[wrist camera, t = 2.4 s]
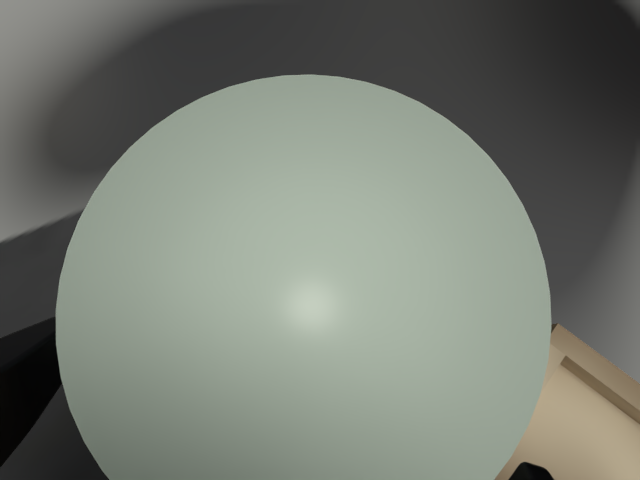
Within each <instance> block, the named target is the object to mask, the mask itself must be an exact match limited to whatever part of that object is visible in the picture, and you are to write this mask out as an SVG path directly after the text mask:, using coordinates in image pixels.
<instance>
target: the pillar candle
mask: <svg viewBox="0 0 640 480" xmlns="http://www.w3.org/2000/svg"><path fill="white" fill-rule="evenodd" d="M550 337H551V305H550V292H549V285H548V280H547V274H546V268H545V262H544V259H543V256H542V252H541V249H540V246H539V243H538V239H537V236H536V233H535V231H534V228H533V226H532V224H531V222H530V220H529V218H528V215H527V213H526V211H525V209H524V206H523V205H522V203H521V201H520V199H519V198H518V196H517V195H516V193H515V191H514V190H513V188H512V186H511V185H510V183H509V182H508V180H507V178H506V177H505V176H504V175H503V174H502V172H501V171H500V170H499V168H498V167H497V166H496V164H495V163H494V162H493V161H492V159H491V158H490V157H489V156H488V155H487V154H486V153H485V152H484V151H483V150H482V149H481V148H480V147H479V146H478V145H477V144H476V143H475V142H474V141H473V140H472V139H471V138H470V137H469V136H468V135H467V134H465V133H464V132H463V131H462V130H460V129H459V128H458V127H457V126H455V125H454V124H453V123H451V122H450V121H449V120H448V119H446V118H445V117H443V116H442V115H440V114H438V113H437V112H435V111H433V110H432V109H430V108H428V107H427V106H425V105H423V104H422V103H420V102H418V101H416V100H413V99H411V98H409V97H407V96H404V95H402V94H400V93H398V92H396V91H393V90H390V89H387V88H384V87H381V86H377V85H374V84H371V83H368V82H363V81H358V80H353V79H348V78H343V77H335V76H323V75H286V76H278V77H271V78H264V79H257V80H253V81H249V82H245V83H242V84H238V85H234V86H230V87H228V88H225V89H222V90H220V91H217V92H214V93H212V94H209V95H207V96H204V97H202V98H200V99H198V100H196V101H194V102H192V103H191V104H189V105H187V106H185V107H183V108H181V109H179V110H177V111H176V112H175V113H173V114H171V115H170V116H168V117H167V118H166V119H164V120H163V121H161V122H160V123H158V124H157V125H155V126H154V127H153V128H151V129H150V130H149V131H148V132H147V133H146V134H145V135H143V136H142V137H141V138H140V139H139V140H138V141H137V142H135V143H134V144H133V145H132V146H131V147H130V148H129V149H128V150H127V151H126V152H125V153H124V155H123V156H122V157H121V158H120V159H119V160H118V161H117V163H115V164H114V166H113V167H112V168H111V169H110V170H109V172H108V173H107V175H106V176H105V178H104V179H103V180H102V182H101V183H100V185H99V186H98V187H97V189H96V190H95V192H94V193H93V195H92V197H91V199H90V200H89V202H88V204H87V206H86V208H85V210H84V211H83V213H82V215H81V217H80V219H79V221H78V223H77V226H76V229H75V231H74V234H73V236H72V239H71V241H70V244H69V246H68V249H67V253H66V257H65V261H64V264H63V268H62V272H61V276H60V281H59V289H58V297H57V305H56V348H57V355H58V362H59V369H60V376H61V380H62V384H63V387H64V391H65V394H66V398H67V401H68V405H69V408H70V411H71V414H72V416H73V418H74V420H75V423H76V425H77V427H78V429H79V432H80V434H81V436H82V438H83V441H84V443H85V444H86V446H87V447H88V449H89V451H90V452H91V454H92V455H93V457H94V459H95V460H96V462H97V463H98V465H99V467H100V468H101V470H102V471H103V473H104V474H105V475H106V476H107V477H108V479H109V480H494V479H495V478H496V476H497V475H498V474H499V472H500V471H501V470H502V468H503V467H504V466H505V464H506V463H507V462H508V460H509V459H510V458H511V456H512V454H513V453H514V451H515V449H516V447H517V445H518V444H519V442H520V440H521V438H522V436H523V435H524V433H525V431H526V429H527V427H528V425H529V423H530V420H531V417H532V415H533V412H534V410H535V407H536V404H537V402H538V399H539V396H540V394H541V390H542V385H543V381H544V377H545V372H546V368H547V364H548V358H549V348H550Z"/></svg>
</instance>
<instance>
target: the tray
mask: <svg viewBox="0 0 640 480" xmlns="http://www.w3.org/2000/svg"><path fill="white" fill-rule="evenodd" d="M522 462H529V463H532V464H535V465H538V466H541V467H544V468H545V469H547V470H548V471H549V473H550V474H551V475H552V477H553V478H554V480H640V384H639V383H638V382H637V381H635V380H633V379H632V378H631V377H630V376H628V375H627V374H626V373H624V372H623V371H622V370H620V369H619V368H618V367H616V366H615V365H613V364H612V363H611V362H609V361H608V360H607V359H605V358H604V357H603V356H601V355H600V354H599V353H597V352H596V351H594V350H593V349H592V348H590V347H589V346H588V345H586V344H585V343H584V342H582V341H581V340H580V339H578V338H577V337H576V336H574V335H573V334H572V333H570V332H569V331H568V330H566V329H565V328H563V327H562V326H561V325H559V324H558V323H557V324H552V325H551V337H550V348H549V358H548V364H547V368H546V372H545V377H544V381H543V385H542V390H541V394H540V396H539V399H538V402H537V404H536V407H535V410H534V412H533V415H532V417H531V420H530V423H529V425H528V427H527V429H526V431H525V433H524V435H523V436H522V438H521V440H520V442H519V444H518V445H517V447H516V449H515V451H514V453H513V454H512V456H511V458H510V459H509V460H508V462H507V463H506V464H505V466H504V467H503V468H502V470H501V471H500V472H499V474H498V475H497V476H496V478H495V479H494V480H508V479H509V478H510V477H511V475H512V474H513V472H514V471H515V470H516V468H517V467H518V465H519V464H520V463H522Z"/></svg>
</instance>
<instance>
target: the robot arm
mask: <svg viewBox="0 0 640 480" xmlns="http://www.w3.org/2000/svg"><path fill="white" fill-rule="evenodd" d="M61 384H62V380H61V376H60V369H59V362H58V355H57V348H56V317H53V318H50V319H47V320H45V321H42V322H40V323H37V324H34V325H32V326H29V327H27V328H24V329H22V330H19V331H17V332H14V333H12V334H9V335H7V336H4V337H1V338H0V467H1V466H2V465H3V463H4V462H5V461H6V460H7V458H8V457H9V456H10V455H11V454H12V452H13V451H14V450H15V449H16V447H17V446H18V445H19V444H20V443H21V441H22V440H23V439H24V438H25V436H26V435H27V434H28V432H29V431H30V430H31V428H32V427H33V426H34V424H35V423H36V421H37V420H38V419H39V417H40V416H41V414H42V413H43V411H44V410H45V408H46V407H47V405H48V404H49V402H50V401H51V399H52V398H53V396H54V395H55V393H56V392H57V390H58V389H59V387H60V386H61ZM508 480H554V478H553V477H552V475H551V474H550V473H549V471H548V470H547V469H545V468H544V467H541V466H538V465H535V464H532V463H529V462H522V463H520V464H519V465H518V467H517V468H516V470H515V471H514V472H513V474H512V475H511V477H510V478H509V479H508Z"/></svg>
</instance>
